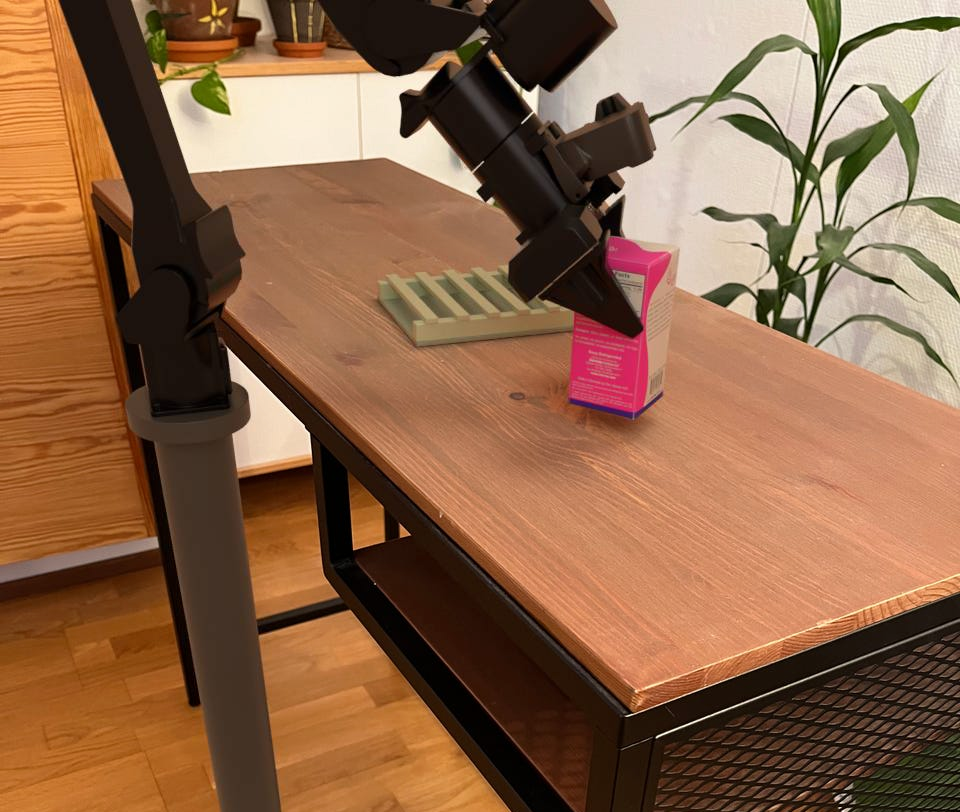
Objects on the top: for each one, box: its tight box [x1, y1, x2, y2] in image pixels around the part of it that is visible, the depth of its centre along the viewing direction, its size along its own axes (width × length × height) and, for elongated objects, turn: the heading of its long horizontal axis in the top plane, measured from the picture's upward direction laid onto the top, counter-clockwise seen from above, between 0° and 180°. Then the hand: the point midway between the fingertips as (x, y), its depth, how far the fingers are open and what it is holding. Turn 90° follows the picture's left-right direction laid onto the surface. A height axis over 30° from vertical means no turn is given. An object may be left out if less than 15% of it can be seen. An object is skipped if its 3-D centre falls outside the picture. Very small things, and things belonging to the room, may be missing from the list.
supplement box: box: [568, 236, 681, 421], centre depth 77 cm, size 6×6×12 cm
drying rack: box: [377, 264, 574, 348], centre depth 100 cm, size 18×14×7 cm
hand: (643, 318), depth 76 cm, fingers closed on supplement box, 7 cm apart
